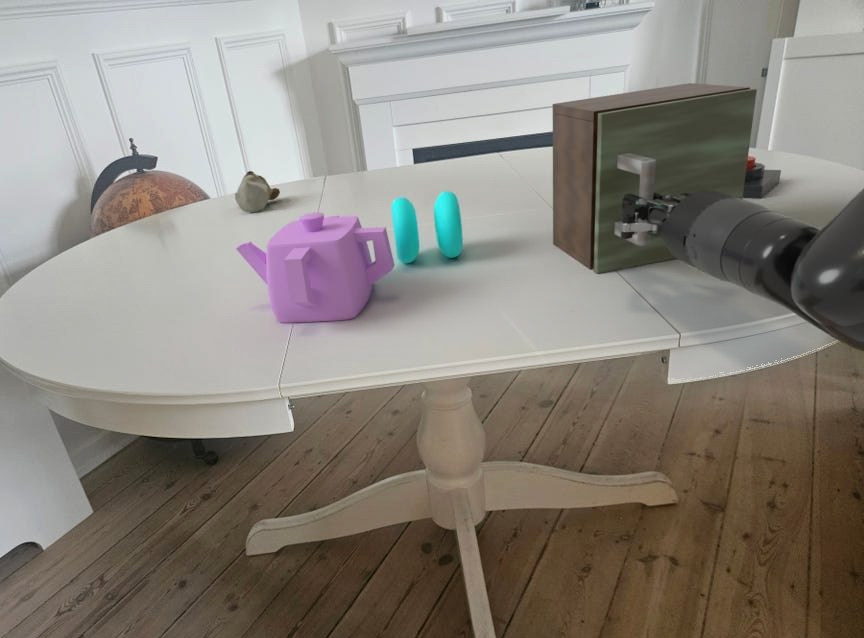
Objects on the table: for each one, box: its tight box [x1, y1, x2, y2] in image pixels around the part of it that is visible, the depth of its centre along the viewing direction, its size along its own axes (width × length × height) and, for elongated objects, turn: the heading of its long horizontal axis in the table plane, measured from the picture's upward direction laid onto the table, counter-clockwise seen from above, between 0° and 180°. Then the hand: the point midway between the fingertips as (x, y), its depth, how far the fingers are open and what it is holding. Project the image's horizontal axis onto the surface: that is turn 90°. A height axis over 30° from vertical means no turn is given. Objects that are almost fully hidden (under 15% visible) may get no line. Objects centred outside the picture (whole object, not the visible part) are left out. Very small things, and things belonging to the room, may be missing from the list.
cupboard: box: [552, 82, 751, 271], centre depth 88 cm, size 13×20×20 cm, turn 99°
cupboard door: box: [593, 88, 758, 274], centre depth 78 cm, size 7×20×20 cm, turn 101°
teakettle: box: [236, 211, 395, 324], centre depth 85 cm, size 17×17×12 cm
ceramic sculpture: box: [234, 170, 281, 213], centre depth 147 cm, size 11×9×15 cm
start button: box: [746, 155, 757, 169], centre depth 110 cm, size 4×4×2 cm
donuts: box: [391, 190, 464, 264], centre depth 96 cm, size 10×10×10 cm
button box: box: [742, 162, 782, 200], centre depth 111 cm, size 12×10×4 cm
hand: (635, 200), depth 77 cm, fingers closed on cupboard door
